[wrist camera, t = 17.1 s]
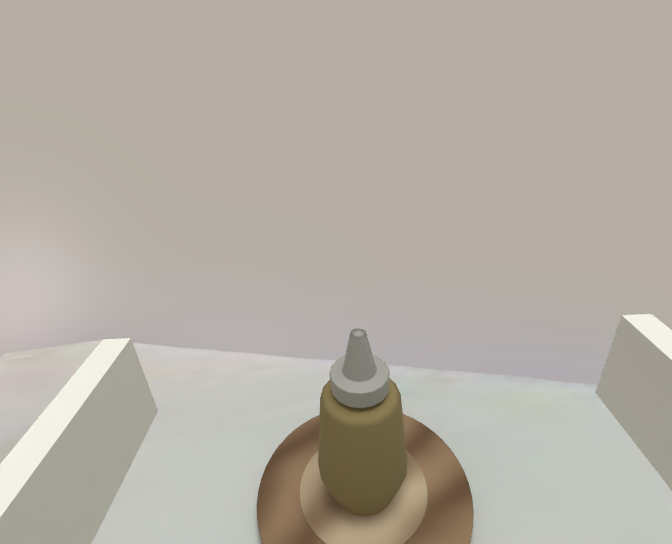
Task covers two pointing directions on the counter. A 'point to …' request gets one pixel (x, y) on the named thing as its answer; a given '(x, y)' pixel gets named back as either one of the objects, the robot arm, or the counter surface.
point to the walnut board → (375, 530)
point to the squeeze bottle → (361, 431)
